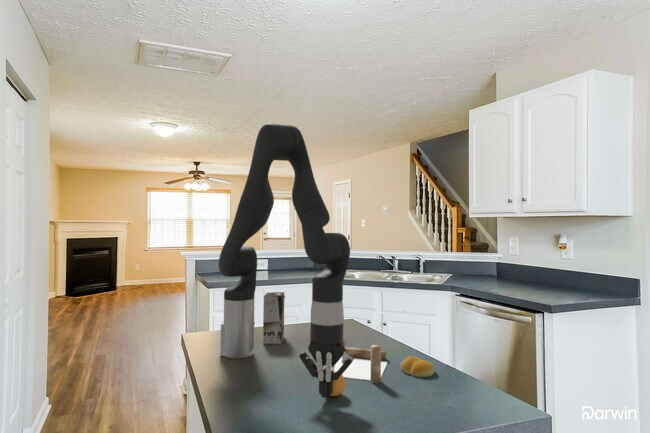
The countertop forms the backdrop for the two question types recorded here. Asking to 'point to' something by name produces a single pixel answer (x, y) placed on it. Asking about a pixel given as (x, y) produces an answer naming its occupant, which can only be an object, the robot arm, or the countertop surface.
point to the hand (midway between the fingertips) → (325, 396)
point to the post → (375, 363)
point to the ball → (338, 386)
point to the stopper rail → (362, 353)
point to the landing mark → (359, 369)
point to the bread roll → (417, 367)
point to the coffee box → (273, 318)
